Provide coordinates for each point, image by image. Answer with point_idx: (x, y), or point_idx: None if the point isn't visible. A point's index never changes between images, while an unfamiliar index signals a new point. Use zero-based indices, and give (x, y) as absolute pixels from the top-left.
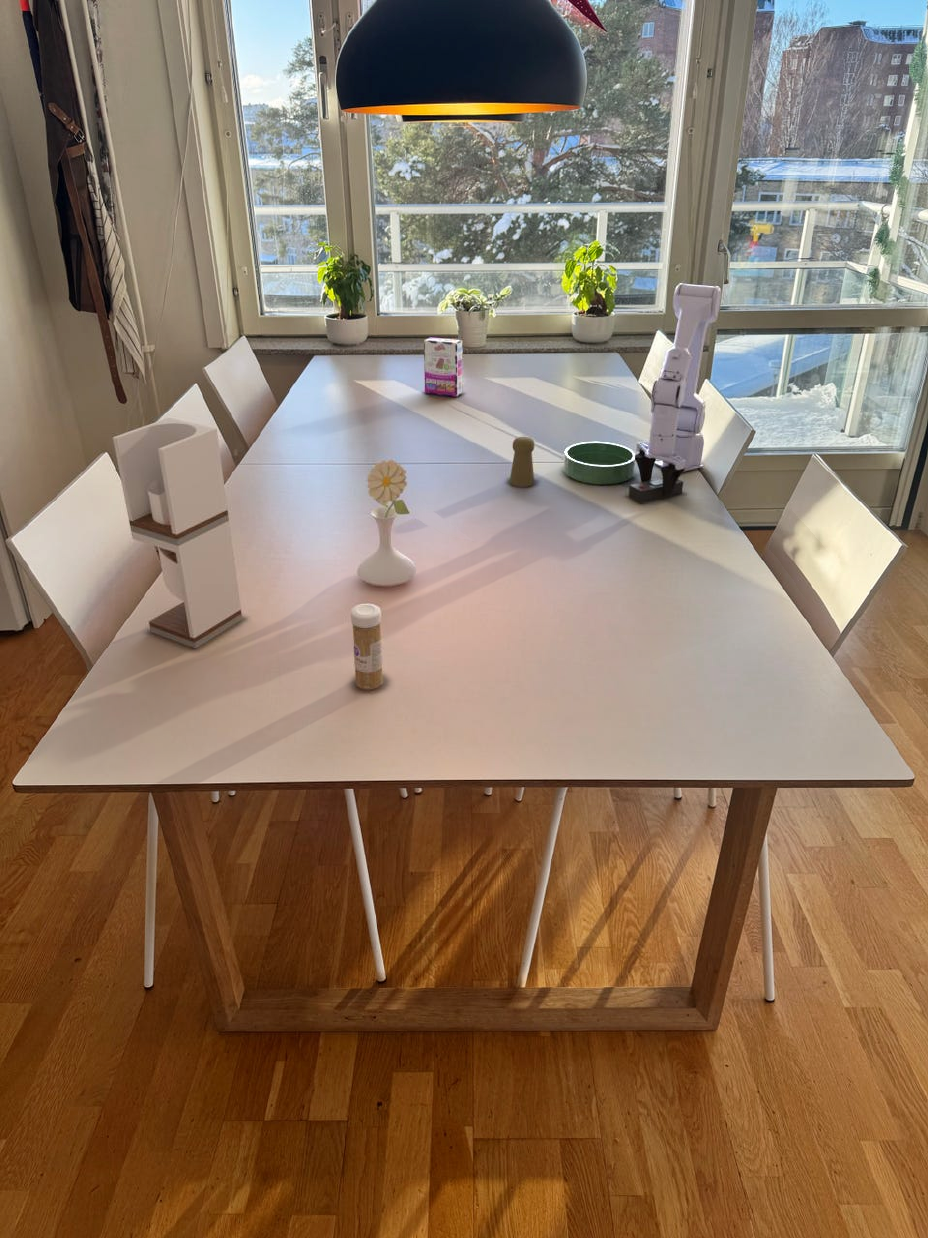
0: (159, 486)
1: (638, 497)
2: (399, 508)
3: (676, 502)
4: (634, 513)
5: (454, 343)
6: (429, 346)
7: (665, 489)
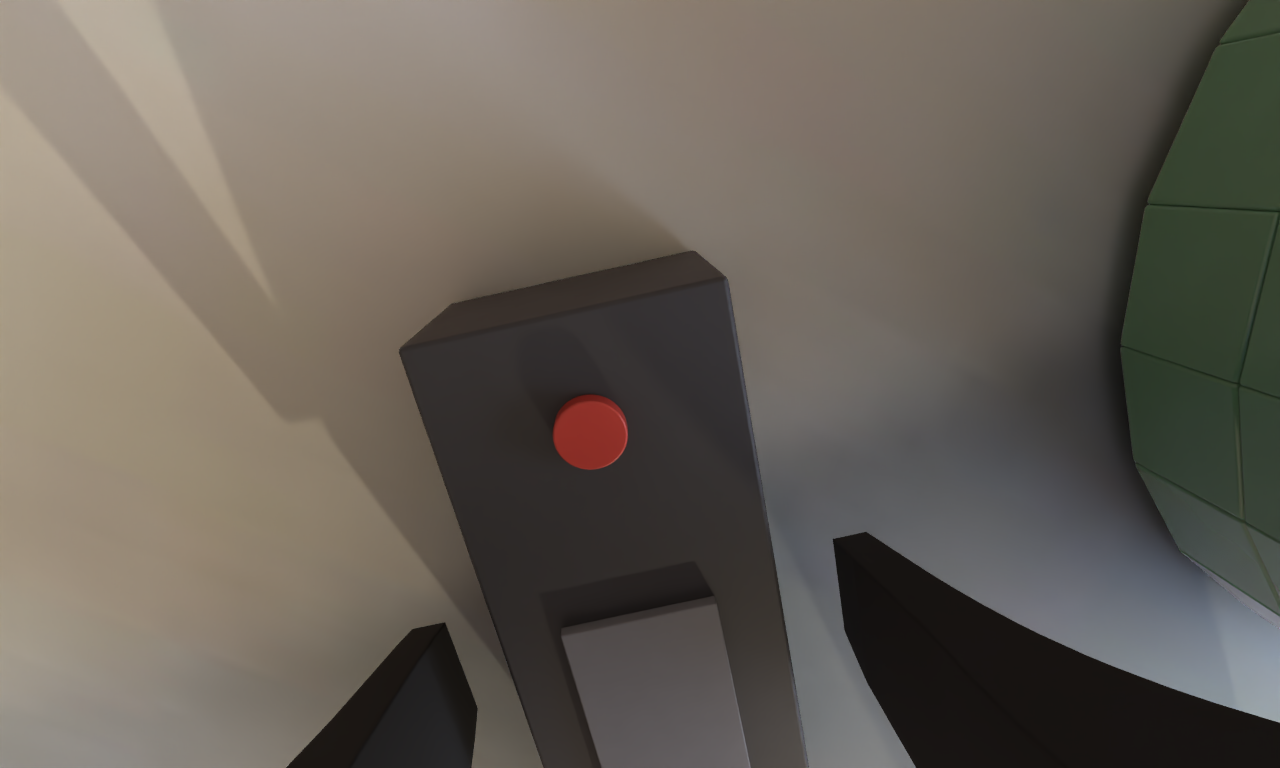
0: None
1: (488, 305)
2: None
3: None
4: (119, 52)
5: None
6: None
7: (358, 698)
